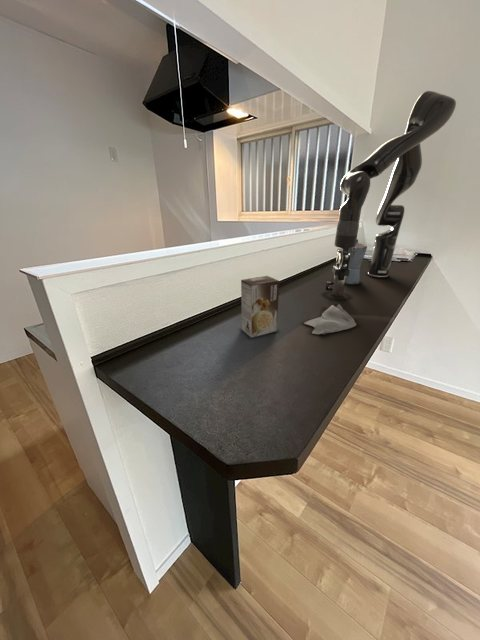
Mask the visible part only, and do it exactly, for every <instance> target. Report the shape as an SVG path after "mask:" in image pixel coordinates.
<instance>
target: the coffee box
mask: <svg viewBox="0 0 480 640" xmlns="http://www.w3.org/2000/svg"><path fill="white" fill-rule="evenodd" d="M240 288H241V289H240V291H241V293H240V294H241V295H240V296H241V299H240V300H241V303H240V304H241V330H242V332H244V333H245V334H247V336H249V338H252V339H253V338H256V337H260V336H265V335H268V334H271V333H275V332H277V331H278V315H279V312H278V311H279V296H280V295H279V294H280V280H279V279H276V278H274V277H271V276H269V275H264V276H263V275H262V276H256V277H251V278H244V279H240Z"/></svg>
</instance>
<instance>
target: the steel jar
mask: <svg viewBox="0 0 480 640" xmlns="http://www.w3.org/2000/svg"><path fill="white" fill-rule="evenodd" d="M343 267H345V266H344V265H343ZM349 272H350V269H349V268H348V270H346V271H345V277H344V280H338V275H339V266H336V265H333V266H332V272H331V273H332V274H333V278H332V281H327V282H326V283H325V291H328V292H330V295H332V296H335V297H343V296H344V292H345V288H346V283H345V282H346V276H349ZM330 285H331V287H330Z"/></svg>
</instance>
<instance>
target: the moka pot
mask: <svg viewBox="0 0 480 640" xmlns="http://www.w3.org/2000/svg"><path fill="white" fill-rule="evenodd" d="M367 250H368V246H367V245H365V244H363V243H359V239H358V238H357V241H356V246H355V247H353V248H349V252H350V255H351V257H350V261H349V266H348V268H349V269H350V272H349V276H346V282H345V284H347V285H358V284H360V281H361V280H360V279H361V265H362V264H363V261H364V259H365V255H366V252H367ZM343 266H345V265H343Z"/></svg>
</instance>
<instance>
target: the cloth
mask: <svg viewBox="0 0 480 640" xmlns="http://www.w3.org/2000/svg"><path fill="white" fill-rule="evenodd" d="M343 308H344V307H342V306H341V304H340V303H338V304H337V305H334V304H331V305H330V306H329V307H328V308H327V309H326V310H324V311H323V312H322V313H321V315H320V316H319V317H316V318H312V319H310V320H307V321H305V322H303V324H304V325H306V326H309V327H312V328H314V329H313V330H312V331H311V334H313V335H318V336H319V335H323V336H324V335H329V334H332V333H336V332H341V331H345V330H349V329H352V328H354V327H356V326H357V322H355V319H354V318H353V317H352V316H351V315H350V314H349V313H348V312H347V311H346V310H345V309H343Z"/></svg>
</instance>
